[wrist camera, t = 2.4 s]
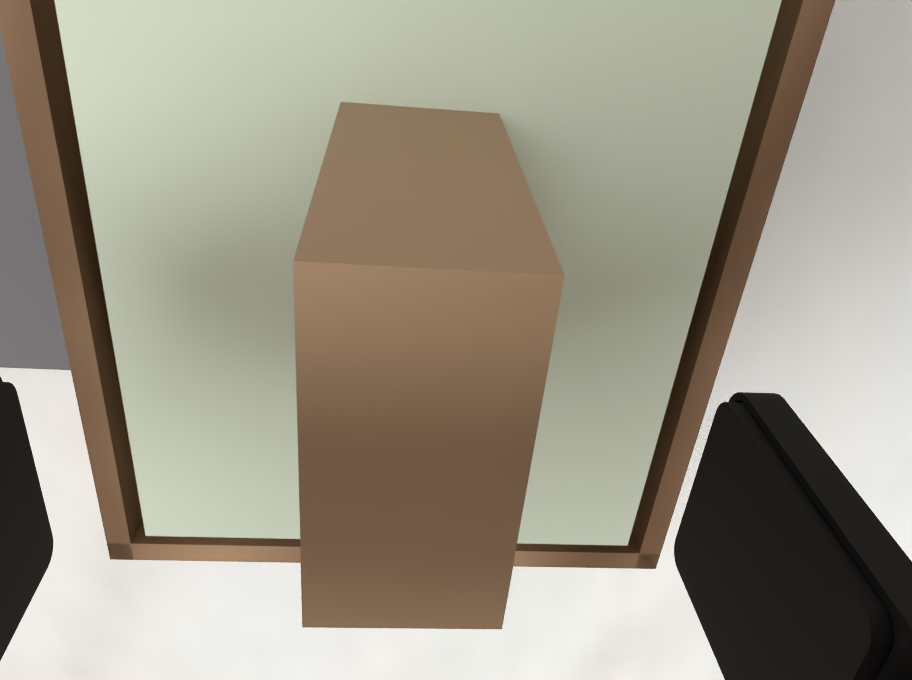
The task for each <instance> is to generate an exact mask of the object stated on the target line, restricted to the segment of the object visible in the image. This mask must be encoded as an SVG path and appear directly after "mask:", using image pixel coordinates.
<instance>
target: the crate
mask: <svg viewBox="0 0 912 680" xmlns="http://www.w3.org/2000/svg"><path fill="white" fill-rule="evenodd" d="M834 2H835V0H782V1H781V5H780V8H779V12H778V15H777V19H776V22H775V26H774V30H773V33H772V37H771V40H770V44H769V47H768V51H767V54H766V58H765V61H764V65H763V68H762V72H761V76H760V79H759V83H758V86H757V90H756V93H755V97H754V100H753V104H752V107H751V111H750V114H749V118H748V122H747V125H746V129H745V132H744V136H743V139H742V143H741V146H740V150H739V153H738V157H737V160H736V164H735V167H734V171H733V175H732V178H731V182H730V185H729V189H728V192H727V196H726V199H725V203H724V206H723V210H722V213H721V217H720V221H719V224H718V228H717V231H716V235H715V238H714V242H713V245H712V249H711V252H710V256H709V259H708V263H707V267H706V270H705V274H704V277H703V281H702V284H701V288H700V291H699V295H698V298H697V302H696V305H695V309H694V312H693V316H692V320H691V323H690V327H689V330H688V334H687V337H686V341H685V344H684V348H683V351H682V355H681V358H680V362H679V366H678V369H677V373H676V376H675V380H674V383H673V387H672V390H671V394H670V397H669V401H668V404H667V408H666V412H665V415H664V419H663V422H662V426H661V429H660V433H659V436H658V440H657V443H656V447H655V450H654V454H653V457H652V461H651V465H650V468H649V472H648V475H647V479H646V482H645V486H644V489H643V493H642V496H641V500H640V503H639V507H638V511H637V514H636V518H635V521H634V525H633V528H632V532H631V535H630V539H629V542H628V546H623V545H573V544H524V543H517V547H516V552H515V558H514V563H513V566H527V567H585V568H642V569H656V566H657V563H658V559H659V556H660V553H661V550H662V547H663V544H664V540H665V537H666V534H667V531H668V528H669V525H670V521H671V518H672V515H673V512H674V509H675V506H676V502H677V499H678V496H679V493H680V490H681V487H682V483H683V480H684V477H685V474H686V471H687V468H688V464H689V461H690V458H691V455H692V452H693V449H694V445H695V442H696V439H697V436H698V433H699V430H700V426H701V423H702V420H703V417H704V414H705V411H706V407H707V404H708V401H709V398H710V395H711V392H712V388H713V385H714V382H715V379H716V376H717V373H718V369H719V366H720V363H721V360H722V357H723V354H724V351H725V347H726V344H727V341H728V338H729V335H730V332H731V328H732V325H733V322H734V319H735V316H736V313H737V309H738V306H739V303H740V300H741V297H742V294H743V290H744V287H745V284H746V281H747V278H748V275H749V271H750V268H751V265H752V262H753V259H754V256H755V252H756V249H757V246H758V243H759V240H760V237H761V233H762V230H763V227H764V224H765V221H766V218H767V214H768V211H769V208H770V205H771V202H772V199H773V195H774V192H775V189H776V186H777V183H778V180H779V176H780V173H781V170H782V167H783V164H784V161H785V157H786V154H787V151H788V148H789V145H790V142H791V138H792V135H793V132H794V129H795V126H796V123H797V120H798V116H799V113H800V110H801V107H802V104H803V101H804V97H805V94H806V91H807V88H808V85H809V82H810V78H811V75H812V72H813V69H814V66H815V63H816V59H817V56H818V53H819V50H820V47H821V44H822V40H823V37H824V34H825V31H826V28H827V25H828V21H829V18H830V15H831V12H832V9H833V6H834ZM0 31H1V36H2V41H3V45H4V50H5V55H6V60H7V65H8V69H9V74H10V79H11V84H12V89H13V93H14V98H15V103H16V108H17V113H18V118H19V122H20V127H21V132H22V137H23V142H24V146H25V151H26V156H27V161H28V166H29V170H30V175H31V180H32V185H33V190H34V194H35V199H36V204H37V209H38V214H39V219H40V223H41V228H42V233H43V238H44V243H45V247H46V252H47V257H48V262H49V267H50V271H51V276H52V281H53V286H54V291H55V296H56V300H57V305H58V310H59V315H60V320H61V324H62V329H63V334H64V339H65V344H66V348H67V353H68V358H69V363H70V368H71V372H72V377H73V382H74V387H75V392H76V397H77V401H78V406H79V411H80V416H81V421H82V425H83V430H84V435H85V440H86V445H87V449H88V454H89V459H90V464H91V469H92V474H93V478H94V483H95V488H96V493H97V498H98V502H99V507H100V512H101V517H102V522H103V526H104V531H105V536H106V541H107V546H108V550H109V555H110V559H123V560H180V561H238V562H296V563H301V549H300V539H276V538H226V537H177V536H146V535H145V529H144V523H143V518H142V512H141V506H140V500H139V494H138V488H137V482H136V476H135V471H134V465H133V459H132V453H131V447H130V441H129V435H128V429H127V424H126V418H125V412H124V406H123V400H122V394H121V388H120V382H119V377H118V371H117V365H116V359H115V353H114V347H113V341H112V336H111V330H110V324H109V318H108V312H107V306H106V300H105V294H104V289H103V283H102V277H101V271H100V265H99V259H98V253H97V247H96V242H95V236H94V230H93V224H92V218H91V212H90V206H89V200H88V195H87V189H86V183H85V177H84V171H83V165H82V159H81V154H80V148H79V142H78V136H77V130H76V124H75V118H74V112H73V107H72V101H71V95H70V89H69V83H68V77H67V71H66V65H65V60H64V54H63V48H62V42H61V36H60V30H59V24H58V18H57V13H56V7H55V1H54V0H0Z"/></svg>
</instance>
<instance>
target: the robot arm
mask: <svg viewBox="0 0 912 680" xmlns="http://www.w3.org/2000/svg"><path fill="white" fill-rule="evenodd" d="M52 551H53V536H52V532H51V528H50V524H49V520H48V516H47V511H46V507H45V503H44V499H43V495H42V491H41V487H40V483H39V479H38V475H37V471H36V467H35V463H34V459H33V455H32V451H31V447H30V443H29V439H28V435H27V431H26V427H25V423H24V419H23V415H22V411H21V407H20V403H19V399H18V395H17V391H16V389H15V387H14V386H13V384H11V383H9V382H2V379H1V377H0V660H1V658H2V656H3V654H4V653H5V651H6V649H7V647H8V645H9V643H10V641H11V639H12V637H13V635H14V633H15V631H16V629H17V627H18V625H19V623H20V621H21V619H22V617H23V615H24V613H25V611H26V609H27V607H28V605H29V603H30V601H31V599H32V597H33V595H34V593H35V591H36V589H37V587H38V585H39V583H40V582H41V580H42V578H43V576H44V574H45V572H46V570H47V568H48V565H49V563H50V560H51V556H52ZM674 556H675V562H676V566H677V569H678V571H679V573H680V576H681V578H682V580H683V583H684V585H685V587H686V590H687V592H688V594H689V597H690V599H691V601H692V604H693V606H694V608H695V611H696V613H697V615H698V618H699V620H700V622H701V625H702V627H703V629H704V632H705V634H706V636H707V639H708V641H709V643H710V646H711V648H712V650H713V653H714V655H715V657H716V660H717V662H718V664H719V667H720V669H721V672H722V674H723V676H724V679H725V680H912V562H911V560H910V559H909V558H908V556H907V555H906V554H905V553H904V551H903V550H902V549H901V548H900V546H899V545H898V544H897V542H896V541H895V540H894V539H893V537H892V536H891V535H890V533H889V532H888V531H887V530H886V528H885V527H884V526H883V525H882V523H881V522H880V521H879V519H878V518H877V517H876V516H875V514H874V513H873V512H872V510H871V509H870V508H869V507H868V505H867V504H866V503H865V502H864V500H863V499H862V498H861V496H860V495H859V494H858V493H857V491H856V490H855V489H854V488H853V486H852V485H851V484H850V482H849V481H848V480H847V479H846V477H845V476H844V475H843V473H842V472H841V471H840V470H839V468H838V467H837V466H836V465H835V463H834V462H833V461H832V459H831V458H830V457H829V456H828V454H827V453H826V452H825V450H824V449H823V448H822V447H821V445H820V444H819V443H818V442H817V440H816V439H815V438H814V436H813V435H812V434H811V433H810V431H809V430H808V429H807V427H806V426H805V425H804V424H803V422H802V421H801V420H800V419H799V417H798V416H797V415H796V413H795V412H794V411H793V410H792V408H791V407H790V406H789V405H788V403H787V402H786V401H785V399H784V398H783V397H781V396H780V395H779V394H775V393H743V392H738V393H736V394H734V395H733V396H732V397H731V398H730V400H729V402H724V403H721V404H720V405H719V406H718V408H717V411H716V413H715V417H714V420H713V423H712V426H711V429H710V432H709V436H708V439H707V442H706V445H705V448H704V451H703V454H702V458H701V461H700V464H699V467H698V470H697V473H696V476H695V480H694V483H693V486H692V489H691V492H690V495H689V499H688V502H687V505H686V508H685V511H684V514H683V517H682V521H681V524H680V527H679V530H678V533H677V536H676V540H675V545H674Z"/></svg>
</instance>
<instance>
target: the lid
mask: <svg viewBox="0 0 912 680" xmlns="http://www.w3.org/2000/svg"><path fill="white" fill-rule="evenodd" d="M54 1H55V7H56V13H57V18H58V24H59V30H60V36H61V42H62V48H63V54H64V60H65V65H66V71H67V77H68V83H69V89H70V95H71V101H72V107H73V112H74V118H75V124H76V130H77V136H78V142H79V148H80V154H81V159H82V165H83V171H84V177H85V183H86V189H87V195H88V200H89V206H90V212H91V218H92V224H93V230H94V236H95V242H96V247H97V253H98V259H99V265H100V271H101V277H102V283H103V289H104V294H105V300H106V306H107V312H108V318H109V324H110V330H111V336H112V341H113V347H114V353H115V359H116V365H117V371H118V377H119V382H120V388H121V394H122V400H123V406H124V412H125V418H126V424H127V429H128V435H129V441H130V447H131V453H132V459H133V465H134V471H135V476H136V482H137V488H138V494H139V500H140V506H141V512H142V518H143V523H144V529H145V535H146V536H177V537H226V538H276V539H300V549H301V588H302V627H329V628H435V629H502V625H503V620H504V614H505V608H506V603H507V597H508V591H509V586H510V580H511V575H512V569H513V563H514V558H515V552H516V547H517V543H524V544H573V545H623V546H628V542H629V539H630V535H631V532H632V528H633V525H634V521H635V518H636V514H637V511H638V507H639V503H640V500H641V496H642V493H643V489H644V486H645V482H646V479H647V475H648V472H649V468H650V465H651V461H652V457H653V454H654V450H655V447H656V443H657V440H658V436H659V433H660V429H661V426H662V422H663V419H664V415H665V412H666V408H667V404H668V401H669V397H670V394H671V390H672V387H673V383H674V380H675V376H676V373H677V369H678V366H679V362H680V358H681V355H682V351H683V348H684V344H685V341H686V337H687V334H688V330H689V327H690V323H691V320H692V316H693V312H694V309H695V305H696V302H697V298H698V295H699V291H700V288H701V284H702V281H703V277H704V274H705V270H706V267H707V263H708V259H709V256H710V252H711V249H712V245H713V242H714V238H715V235H716V231H717V228H718V224H719V221H720V217H721V213H722V210H723V206H724V203H725V199H726V196H727V192H728V189H729V185H730V182H731V178H732V175H733V171H734V167H735V164H736V160H737V157H738V153H739V150H740V146H741V143H742V139H743V136H744V132H745V129H746V125H747V122H748V118H749V114H750V111H751V107H752V104H753V100H754V97H755V93H756V90H757V86H758V83H759V79H760V76H761V72H762V68H763V65H764V61H765V58H766V54H767V51H768V47H769V44H770V40H771V37H772V33H773V30H774V26H775V22H776V19H777V15H778V12H779V8H780V5H781V1H782V0H54Z"/></svg>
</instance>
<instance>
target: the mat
mask: <svg viewBox="0 0 912 680" xmlns="http://www.w3.org/2000/svg"><path fill="white" fill-rule="evenodd" d="M0 367H7V368H33V369H58V370H71V368H70V363H69V358H68V353H67V348H66V344H65V339H64V334H63V329H62V324H61V320H60V315H59V310H58V305H57V300H56V296H55V291H54V286H53V281H52V276H51V271H50V267H49V262H48V257H47V252H46V247H45V243H44V238H43V233H42V228H41V223H40V219H39V214H38V209H37V204H36V199H35V194H34V190H33V185H32V180H31V175H30V170H29V166H28V161H27V156H26V151H25V146H24V142H23V137H22V132H21V127H20V122H19V118H18V113H17V108H16V103H15V98H14V93H13V89H12V84H11V79H10V74H9V69H8V65H7V60H6V55H5V50H4V45H3V41H2V36H1V31H0Z"/></svg>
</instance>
